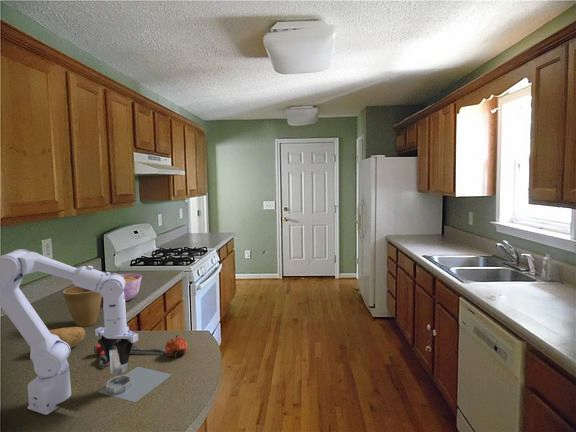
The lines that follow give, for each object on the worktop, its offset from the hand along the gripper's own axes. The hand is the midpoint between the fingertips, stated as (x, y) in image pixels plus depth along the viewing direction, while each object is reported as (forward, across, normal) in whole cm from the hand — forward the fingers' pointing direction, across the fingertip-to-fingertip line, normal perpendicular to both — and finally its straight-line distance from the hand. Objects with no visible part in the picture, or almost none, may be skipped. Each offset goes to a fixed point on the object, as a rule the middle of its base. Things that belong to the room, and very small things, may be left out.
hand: (118, 361), depth 103 cm
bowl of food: (+9, +65, -63) cm, 91 cm away
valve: (+10, +14, -15) cm, 23 cm away
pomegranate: (+9, -3, -22) cm, 24 cm away
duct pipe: (+3, 0, 0) cm, 3 cm away
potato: (+9, +41, -13) cm, 44 cm away
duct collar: (+9, 0, 0) cm, 9 cm away
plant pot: (+9, +55, -33) cm, 65 cm away
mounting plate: (+9, -3, -4) cm, 10 cm away
